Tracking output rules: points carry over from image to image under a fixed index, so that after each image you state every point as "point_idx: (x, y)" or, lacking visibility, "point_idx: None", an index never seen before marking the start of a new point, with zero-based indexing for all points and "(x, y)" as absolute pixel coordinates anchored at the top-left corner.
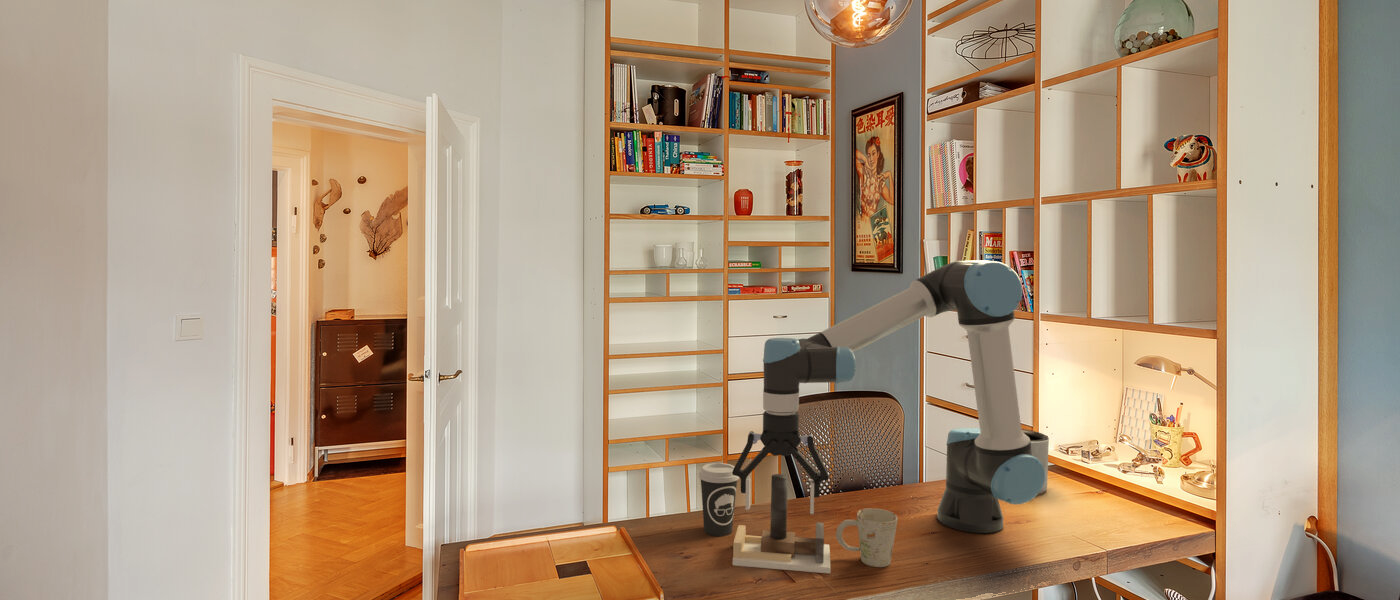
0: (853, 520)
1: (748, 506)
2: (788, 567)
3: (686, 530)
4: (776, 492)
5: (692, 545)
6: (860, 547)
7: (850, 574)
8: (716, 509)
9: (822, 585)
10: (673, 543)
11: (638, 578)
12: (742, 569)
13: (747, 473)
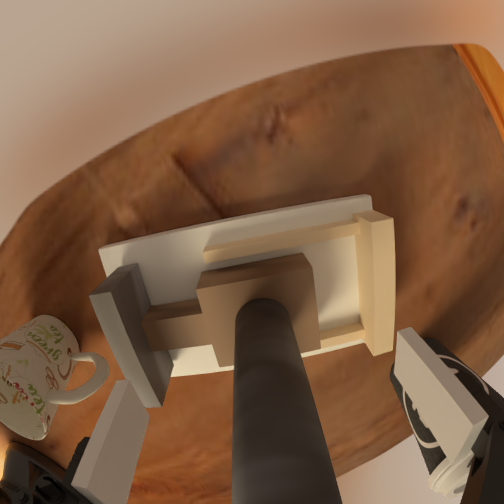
0: (53, 400)
1: (407, 339)
2: (207, 223)
3: (469, 334)
4: (289, 430)
5: (460, 271)
6: (60, 349)
7: (68, 260)
8: (454, 373)
9: (105, 169)
10: (488, 264)
11: (495, 82)
12: (333, 177)
13: (498, 448)
